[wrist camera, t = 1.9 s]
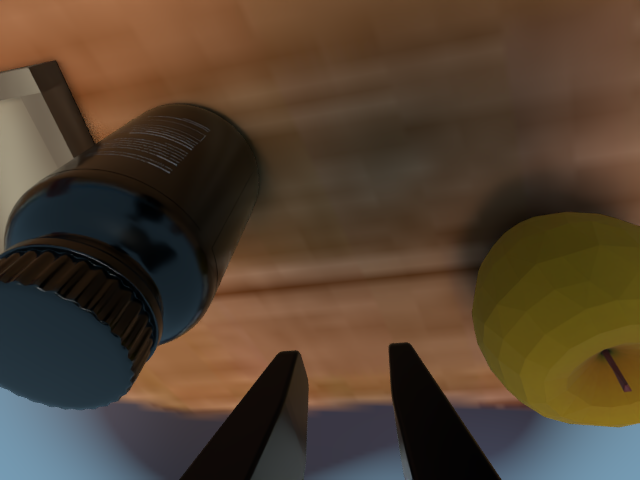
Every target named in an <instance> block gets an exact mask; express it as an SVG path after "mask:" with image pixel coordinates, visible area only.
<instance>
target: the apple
mask: <svg viewBox="0 0 640 480" xmlns="http://www.w3.org/2000/svg"><path fill="white" fill-rule="evenodd" d="M472 317H473V324H474V330H475V334H476V338H477V343H478V345H479V347H480V349H481V351H482V353H483V355H484V357H485V359H486V361H487V363H488V365H489V367H490V369H491V370H492V372H493V373H494V374H495V375H496V376H497V378H498V379H499V380H500V381H501V382H502V384H503V385H504V386H505V387H506V388H507V390H508V391H509V392H511V393H512V394H513V395H514V396H515V397H516V398H517V399H518V400H519V401H520V402H522V403H523V404H525V405H527V406H528V407H530V408H531V409H533V410H534V411H536V412H538V413H539V414H541V415H542V416H544V417H547V418H551V419H554V420H558V421H562V422H565V423H569V424H581V425H594V426H608V427H623V426H628V425H632V424H637V423H640V226H637V225H634V224H631V223H628V222H625V221H622V220H619V219H616V218H613V217H609V216H606V215H602V214H594V213H578V212H562V213H556V214H549V215H543V216H536V217H532V218H530V219H527V220H525V221H523V222H520V223H518V224H517V225H515V226H514V227H512V228H511V229H509V230H508V231H507V232H505V233H504V234H503V235H502V236H501V237H500V239H499V240H498V241H497V242H496V243H495V244H494V245H493V247H492V248H491V250H490V251H489V253H488V254H487V256H486V257H485V259H484V261H483V262H482V264H481V266H480V269H479V271H478V276H477V282H476V288H475V295H474V302H473V309H472Z"/></svg>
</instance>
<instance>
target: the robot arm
mask: <svg viewBox="0 0 640 480" xmlns="http://www.w3.org/2000/svg"><path fill="white" fill-rule="evenodd" d="M389 365H390V382H391V394H392V402H393V408H394V415H395V422H396V428H397V434H398V441H399V449H400V455H401V461H402V467H403V472H404V477H405V480H501V478H500V477H499V475H498V474H497V472H496V471H495V469H494V468H493V466H492V465H491V463H490V462H489V460H488V459H487V457H486V456H485V454H484V453H483V451H482V450H481V448H480V447H479V445H478V444H477V442H476V441H475V439H474V438H473V436H472V435H471V434H470V432H469V430H468V429H467V427H466V426H465V425H464V423H463V422H462V420H461V419H460V417H459V416H458V414H457V413H456V411H455V410H454V408H453V407H452V405H451V404H450V402H449V401H448V399H447V398H446V396H445V395H444V393H443V392H442V390H441V389H440V387H439V386H438V384H437V383H436V381H435V380H434V378H433V377H432V375H431V374H430V372H429V371H428V369H427V368H426V366H425V365H424V363H423V362H422V360H421V359H420V357H419V356H418V354H417V353H416V351H415V350H414V348H413V347H412V345H411V344H410V343H407V342H405V343H392V344H390V345H389ZM308 391H309V387H308V378H307V374H306V371H305V367H304V364H303V360H302V357H301V354H300V353H299V351H296V350H295V351H282V352H280V353H278V354H277V355H276V357H275V358H274V359H273V360H272V362H271V363H270V364H269V365H268V367H267V368H266V369H265V371H264V372H263V373H262V374H261V376H260V377H259V378H258V380H257V381H256V382H255V383H254V385H253V386H252V387H251V389H250V390H249V391H248V392H247V394H246V395H245V396H244V397H243V399H242V400H241V401H240V403H239V404H238V405H237V406H236V408H235V409H234V410H233V412H232V413H231V414H230V415H229V417H228V418H227V419H226V421H225V422H224V423H223V424H222V426H221V427H220V428H219V430H218V431H217V432H216V433H215V435H214V436H213V437H212V439H211V440H210V441H209V442H208V444H207V445H206V446H205V448H204V449H203V450H202V451H201V453H200V454H199V455H198V456H197V458H196V459H195V460H194V461H193V463H192V464H191V465H190V467H189V468H188V469H187V471H186V472H185V473H184V474H183V476H182V477H181V478H180V479H179V480H304V473H305V464H306V447H307V419H308Z"/></svg>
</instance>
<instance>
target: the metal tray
mask: <svg viewBox="0 0 640 480" xmlns="http://www.w3.org/2000/svg"><path fill="white" fill-rule="evenodd" d="M93 145H95V144H94V142H93V140H92V138H91V136H90V133H89V131H88V129H87V127H86V125H85V123H84V121H83V118H82V116H81V114H80V112H79V110H78V108H77V106H76V103H75V101H74V99H73V97H72V95H71V93H70V91H69V88H68V86H67V84H66V82H65V80H64V78H63V76H62V73H61V71H60V69H59V67H58V65H57V63H56V61H50V62H45V63H41V64H36V65H31V66H26V67H22V68H17V69H12V70H7V71H3V72H0V254H2V253H3V252H4V233H5V227H6V223H7V220H8V217H9V215H10V213H11V211H12V209H13V207H14V205H15V204H16V202H17V201H18V200H19V198H20V197H21V196H22V195H23V194H24V193H25V192H26V191H27V190H29V189H30V188H31V187H33V186H34V185H35V184H36V183H38V182H39V181H40V180H42V179H43V178H45V177H46V176H48V175H49V174H51V173H52V172H54V171H55V170H57V169H58V168H60V167H61V166H63V165H64V164H66V163H68V162H69V161H71V160H72V159H74V158H75V157H77V156H78V155H80V154H81V153H83V152H84V151H86V150H87V149H89V148H90V147H92V146H93Z"/></svg>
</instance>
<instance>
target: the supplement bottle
mask: <svg viewBox="0 0 640 480" xmlns="http://www.w3.org/2000/svg"><path fill="white" fill-rule="evenodd" d="M258 191H259V172H258V167H257V163H256V160H255V157H254V155H253V153H252V150H251V148H250V147H249V145H248V143H247V142H246V141H245V139H244V138H243V136H242V135H241V134H240V133H239V132H238V131H237V130H236V129H235V128H234V127H233V126H232V125H231V124H230V123H228V122H227V121H226V120H224V119H223V118H221V117H220V116H218V115H216V114H214V113H212V112H210V111H208V110H205V109H203V108H200V107H196V106H191V105H184V104H170V105H164V106H160V107H156V108H154V109H151V110H149V111H147V112H145V113H143V114H141V115H140V116H138V117H137V118H135V119H133V120H132V121H130V122H128V123H127V124H125V125H124V126H122V127H121V128H119V129H118V130H116V131H115V132H113V133H112V134H110V135H109V136H107V137H106V138H104V139H103V140H101V141H100V142H98V143H96V144H95V145H93V146H92V147H90V148H89V149H87V150H86V151H84V152H83V153H81V154H80V155H78V156H77V157H75V158H74V159H72V160H71V161H69V162H68V163H66V164H64V165H63V166H61V167H60V168H58V169H57V170H55V171H54V172H52V173H51V174H49V175H48V176H46V177H45V178H43V179H42V180H40V181H39V182H38V183H36V184H35V185H34V186H33V187H31V188H30V189H29V190H27V191H26V192H25V193H24V194H23V195H22V196H21V197H20V198H19V200H18V201H17V202H16V204H15V205H14V207H13V209H12V211H11V213H10V215H9V217H8V220H7V223H6V227H5V233H4V252H3V253H2V254H0V387H2V388H5V389H8V390H10V391H11V392H13V393H14V394H16V395H18V396H21V397H25V398H27V399H29V400H31V401H33V402H37V403H42V404H44V405H47V406H49V407H59V408H62V409H76V410H84V409H96V408H98V407H102V406H108V405H109V404H110V403H111V402H116V401H118V400H119V399H120V398H121V397H122V396H123V395H125V394H127V392H128V391H129V390H130V388H131V387H132V385H133V383H134V382H135V380H136V379H137V377H138V375H139V373H140V372H141V370H142V368H143V366H144V364H145V363H146V362H147V361H148V360H149V359H150V357H151V356H152V355H153V353H154V351H155V350H156V348H157V346H159V345H162V344H165V343H168V342H170V341H172V340H174V339H177V338H178V337H180V336H182V335H183V334H185V333H186V332H188V331H189V330H190V329H192V328H193V327H194V326H195V325H196V324H197V323H198V322H199V321H200V320H201V318H202V317H203V316H204V314H205V313H206V311H207V309H208V307H209V306H210V304H211V302H212V300H213V298H214V296H215V293H216V291H217V289H218V287H219V285H220V282H221V280H222V278H223V276H224V273H225V271H226V269H227V267H228V264H229V262H230V260H231V258H232V255H233V253H234V251H235V249H236V246H237V244H238V242H239V240H240V238H241V235H242V233H243V231H244V229H245V226H246V224H247V222H248V220H249V217H250V215H251V213H252V210H253V208H254V205H255V203H256V200H257V196H258Z"/></svg>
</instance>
